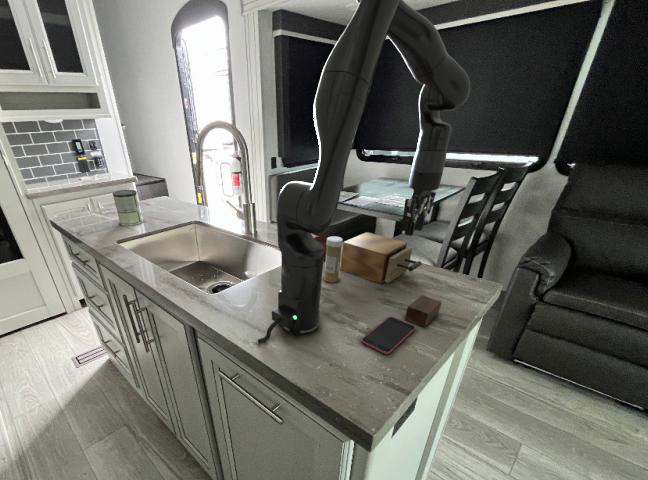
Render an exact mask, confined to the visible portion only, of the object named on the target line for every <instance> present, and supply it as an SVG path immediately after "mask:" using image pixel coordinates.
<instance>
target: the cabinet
mask: <svg viewBox="0 0 648 480" xmlns="http://www.w3.org/2000/svg"><path fill="white" fill-rule="evenodd" d="M402 247H404V248H403V250H404V249H406V248H407V247H408V242H406V241H402V240H398V239H394V238H390V237H387V236H383V235H379V234H375V233H372V232H369V231H365V232H364V233H361V234H359V235H357V236H354V237H352V238H349V239H347V240H344V241H343V243H342V249H341V259H340V268H339V271H343V272H346V273H349V274H351V275H355V276H357V277H359V278H362V279H366V280H368V281H371V282H373V283H377V284H379V285H381V284H382V283H385V278H386V277H384V278H382V277H383V272H384V267H385V261H386V256H388V255H390V254H391V253H393V252H395V251H397V250H399V249H400V248H402Z"/></svg>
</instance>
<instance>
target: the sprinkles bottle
mask: <svg viewBox="0 0 648 480" xmlns="http://www.w3.org/2000/svg"><path fill="white" fill-rule="evenodd" d="M343 240H344V239H343V238H342V237H340V236H330V237H328V238H327V251H326V259H325V261H324V262H325V264H324V276H323V280H324V281H325V282H327V283H336V282H339V275H340V269H341V256H342V248H343V242H344V241H343Z"/></svg>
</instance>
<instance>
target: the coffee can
mask: <svg viewBox="0 0 648 480" xmlns="http://www.w3.org/2000/svg"><path fill="white" fill-rule="evenodd" d="M112 196H113V200H114V204H115V208H116V212H117V215H118V220H119V224H120V225H121V226H125V227H129V226H131V227H132V226H136V225H140V224H142V223H143V222H144V220H143V215H142V212H141V207H140V202H139V198H138V192H137V190H134V189H124V190H117V191H113V192H112Z"/></svg>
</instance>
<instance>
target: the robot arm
mask: <svg viewBox="0 0 648 480" xmlns="http://www.w3.org/2000/svg"><path fill="white" fill-rule="evenodd" d="M355 1H356V3H358V5H357V7H356V10H355V11H354V14H353V16H352V18H351V19H350V21H349V23H348V24H347V26H346V28H345V29H344V31H343V33H342V34H341V35H340V37H339V38H338V40H337V42H336V43H335V45H334V47H333V48H332V51H331V52H330V54H329V56H328V58H327V60H326V62H325V64H324V66H323V69H322V72H321V75H320V79H319V82H318V86H317V90H316V94H315V97H314V102H313V118H314V119H313V121H314V127H315V131H316V135H317V139H318V145H319V158H318V159H319V160H318V164H317V165H318V166H317V170H316V173H315V177H314V180H313V183H310V182H305V181H300V180H299V181H298V180H293V181H290V182H287V183H286V184H285V185H284V186H283V187H282V189H280V192H279V195H278V198H277V202H276V231H277V233H276V234H277V245H278V249H279V251H280V254H281V267H280V268H281V270H280V271H281V274H280V277H281V279H280V281H281V282H280V291H278V292H277V307H276V308H274V309H272V310H271V320H272V321H273V322H272V323H271V324H270V325H269V326H268V328H267V330H266V334H265V336H264V337H260V338H258V339H257V343H258V344H262V343H265V342H267V341H268V340H269V339H270V338H271V334H272V331H273V330H274V328H276V326H278V327H279V328H281V329H283V330H284V331H286V332H288V333H290V334H292V335H293V336H295V337H298V336H300V335H306V334H311V333H313V332H315V331H317V329H318V328H319V326H320V325H319V324H320V308H321V307H320V306H321V297H322V295H321V294H322V282H323V272H324V271H323V269H324V260H325V259H324V249H323V247H322V245H321V244H320V243H319V242H317V241H316V240H315V239H314V238H315V237H314V236H313V235H322V234H324V233H325V232H326V231H327V230H328V229H329V228H330V226H331V224H332V223H333V221H334V218H335V216H336V213H337V210H338V206H339V202H340V197H341V193H342V188H343V184H344V180H345V176H346V170H347V166H348V162H349V158H350V155H351V150H352V148H353V144H354V141H355V137H356V133H357V131H358V127H359V124H360V122H361V118H362V116H363V112H364V110H365V108H366V107H365V106H366V103H367V101H368V97H369V95H370V91H371V87H372V84H373V80H374V76H375V73H376V70H377V66H378V63H379V60H380V57H381V55H382V51H383V48H384V46H385V42H386V40H387V38H388V39H389V40H390V41H391V42H392V44H393V45H394V46H395V48H396V49H397V51H398V52H399V53H400V55H401V57H402V58H403V60H404V63H405V64H406V66H407V68H408V69H409V71H410V73H411V74H412V77H413V78H414V80H415V81H416V82H417V83H418V84H420V85H422V88H421V90H420V92H419V97H418V112H419V113H418V114H419V131H420V132H419V136H418V141H417V146H416V151H415V154H414V156H413V161H412V165H411V170H410V174H409V175H410V176H409V180H408V188H410V189H412V194H411V196H410V198H405V200H404V205H403V207H404V208H403V216H402V218H403V219H402V220H403V221H405V222H406V223H405V228H404V235H406V236H410V237H411V236H413V235H414V234H415V233H414V232H415V231H419V232H421V231H422V230H423V229H424V225H425V220H426V218H427V216H428V215H429V214H430V213H431V210H432V208H433V205H434V201H435V198H436V196H437V192H435V191H436V190H438V189H439V188H440V185H441V181H442V177H443V173H444V168H445V166H446V165H445V164H446V160H447V152H448V148H449V145H450V140H451V136H452V131H453V127H452V124H450V123H449V122H446V121H443V120H442V118H441V112H443V111H444V112H445V111H446V112H447V111H448V112H449V111H456V110H459V109H460V108H462V107H463V106H464V105H465V104H466V102H467V101H468V99H469V97H470V94H471V89H472V88H471V87H472V85H471V80H470V76H469V75H468V74H467V72H466V70H465V69H464V68H463V67H462V66H461V65H460V64H459V63H458V62H457V61H456V60H455V58H453V57H452V56H451V55H450V54H449V53H448V51H447V48H446V46H445V44H444V42H443V39H442V37H441V35H440V33H439V31H438V29H437V28H436V26H435V25H434V24H433V23H432V22H431V20H429V19H428V18H427V17H426V16H424V15H423V14H421V13H420V12H418V11H417V10H416V9H414V8H413V7H411V6H410V5H409V4H408V3H406V1H405V0H355ZM312 234H313V235H312Z"/></svg>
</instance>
